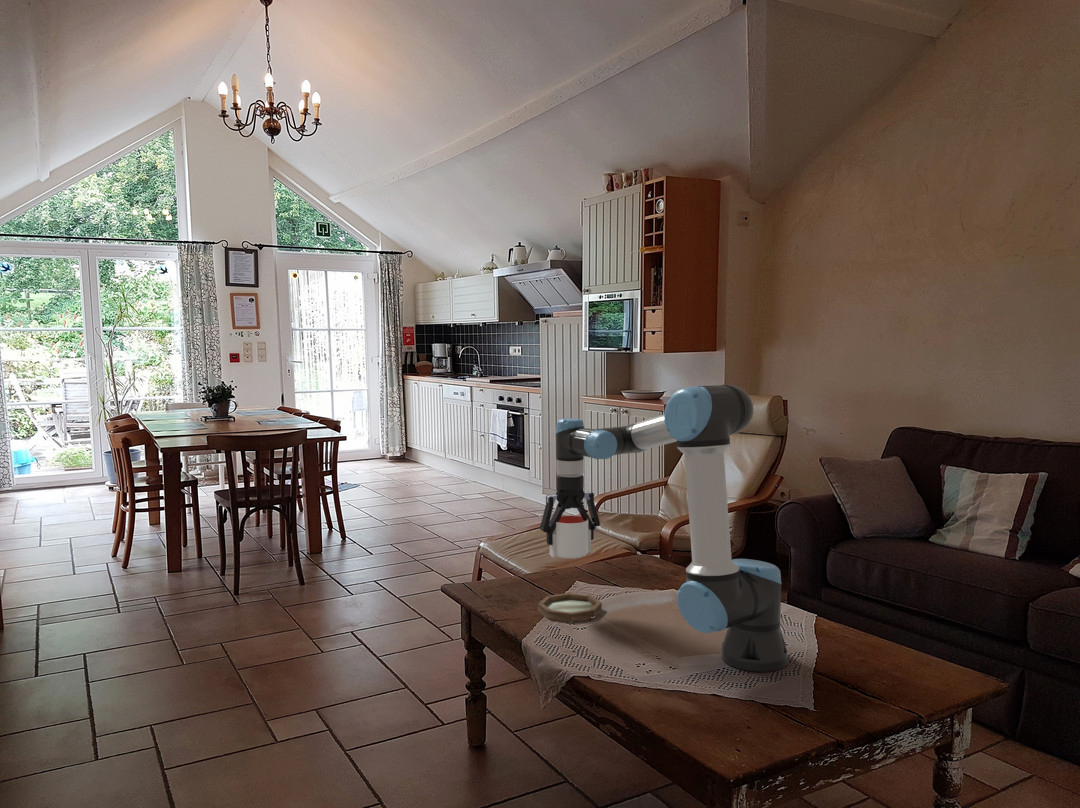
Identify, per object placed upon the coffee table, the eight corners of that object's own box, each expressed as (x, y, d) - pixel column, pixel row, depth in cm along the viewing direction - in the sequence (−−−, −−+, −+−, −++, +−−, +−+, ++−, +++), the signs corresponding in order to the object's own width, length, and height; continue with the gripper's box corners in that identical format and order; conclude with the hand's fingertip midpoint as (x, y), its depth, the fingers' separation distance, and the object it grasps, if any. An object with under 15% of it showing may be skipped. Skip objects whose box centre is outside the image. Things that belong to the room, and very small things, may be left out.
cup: (589, 559, 207) (588, 523, 206) (552, 559, 208) (551, 523, 207) (587, 549, 217) (587, 515, 216) (552, 549, 218) (552, 515, 217)
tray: (609, 615, 209) (609, 607, 209) (555, 624, 203) (555, 616, 203) (583, 597, 224) (583, 590, 224) (531, 606, 218) (531, 598, 218)
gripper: (600, 469, 218) (600, 546, 220) (526, 475, 210) (527, 555, 211) (612, 473, 211) (612, 552, 213) (537, 480, 203) (538, 562, 204)
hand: (570, 553), depth 212 cm, fingers closed on cup, 10 cm apart
